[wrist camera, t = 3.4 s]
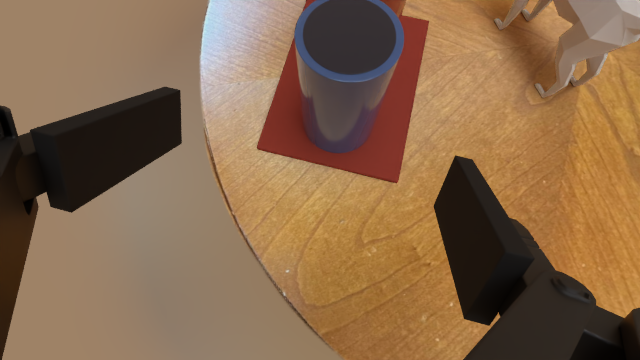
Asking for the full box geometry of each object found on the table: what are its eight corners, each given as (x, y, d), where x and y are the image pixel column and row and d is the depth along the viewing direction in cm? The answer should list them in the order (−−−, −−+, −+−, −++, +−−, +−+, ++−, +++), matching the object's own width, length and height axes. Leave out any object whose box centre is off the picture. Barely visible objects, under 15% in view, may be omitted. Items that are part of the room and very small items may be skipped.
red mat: (308, -2, 34) (308, -5, 34) (427, 23, 33) (429, 20, 33) (257, 149, 29) (256, 147, 29) (397, 183, 28) (398, 182, 28)
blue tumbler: (312, 82, 31) (310, -19, 20) (379, 98, 30) (413, 2, 20) (294, 143, 29) (280, 67, 18) (365, 161, 28) (393, 93, 18)
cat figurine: (507, -19, 35) (625, -203, 22) (615, 137, 30) (862, 22, 16) (471, -9, 35) (569, -189, 21) (574, 152, 29) (794, 47, 16)
